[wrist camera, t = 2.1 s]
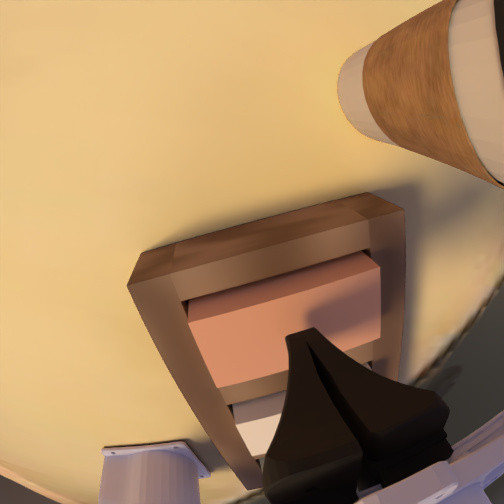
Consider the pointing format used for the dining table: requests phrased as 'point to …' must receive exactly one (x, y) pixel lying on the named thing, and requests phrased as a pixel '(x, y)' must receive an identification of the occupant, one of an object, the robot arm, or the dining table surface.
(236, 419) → the cream button
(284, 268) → the button board
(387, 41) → the coffee cup
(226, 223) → the dining table surface
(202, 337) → the terracotta button
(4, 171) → the dining table surface
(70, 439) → the dining table surface
